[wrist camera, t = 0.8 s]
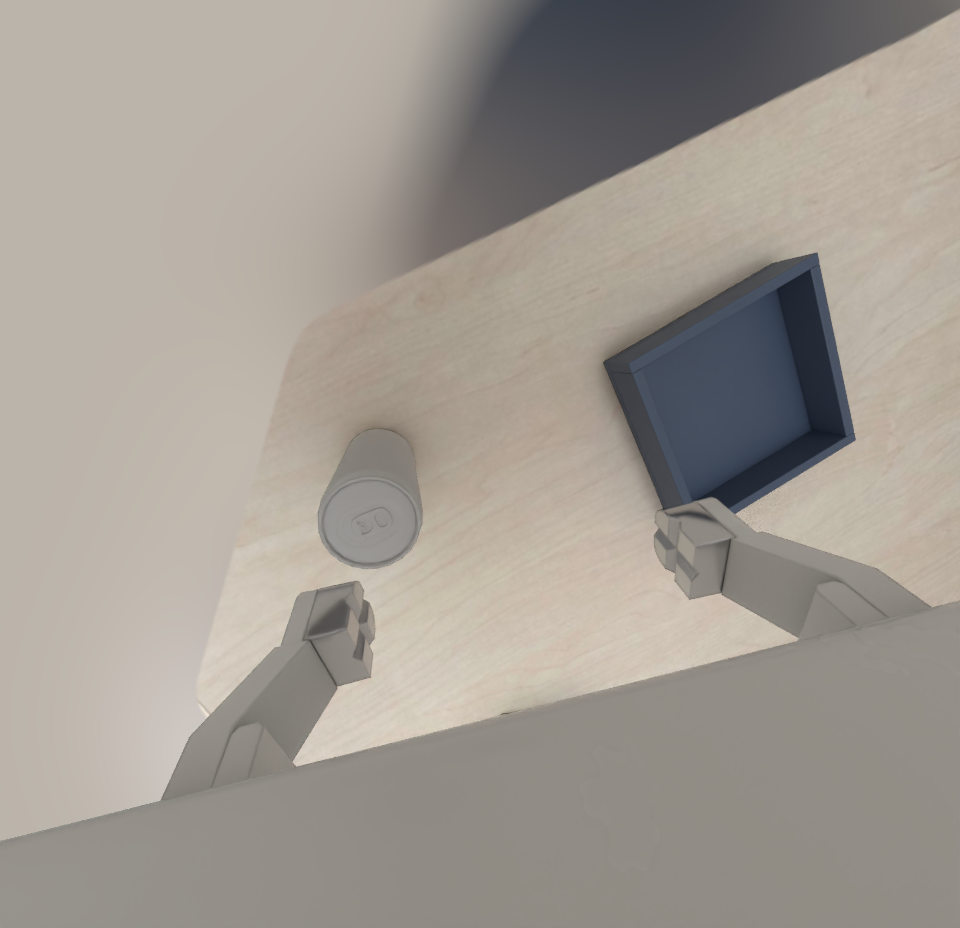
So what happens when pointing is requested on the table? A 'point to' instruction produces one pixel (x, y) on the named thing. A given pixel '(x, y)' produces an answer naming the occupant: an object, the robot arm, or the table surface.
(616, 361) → the tray
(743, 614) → the table surface
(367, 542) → the beverage can
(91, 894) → the robot arm
